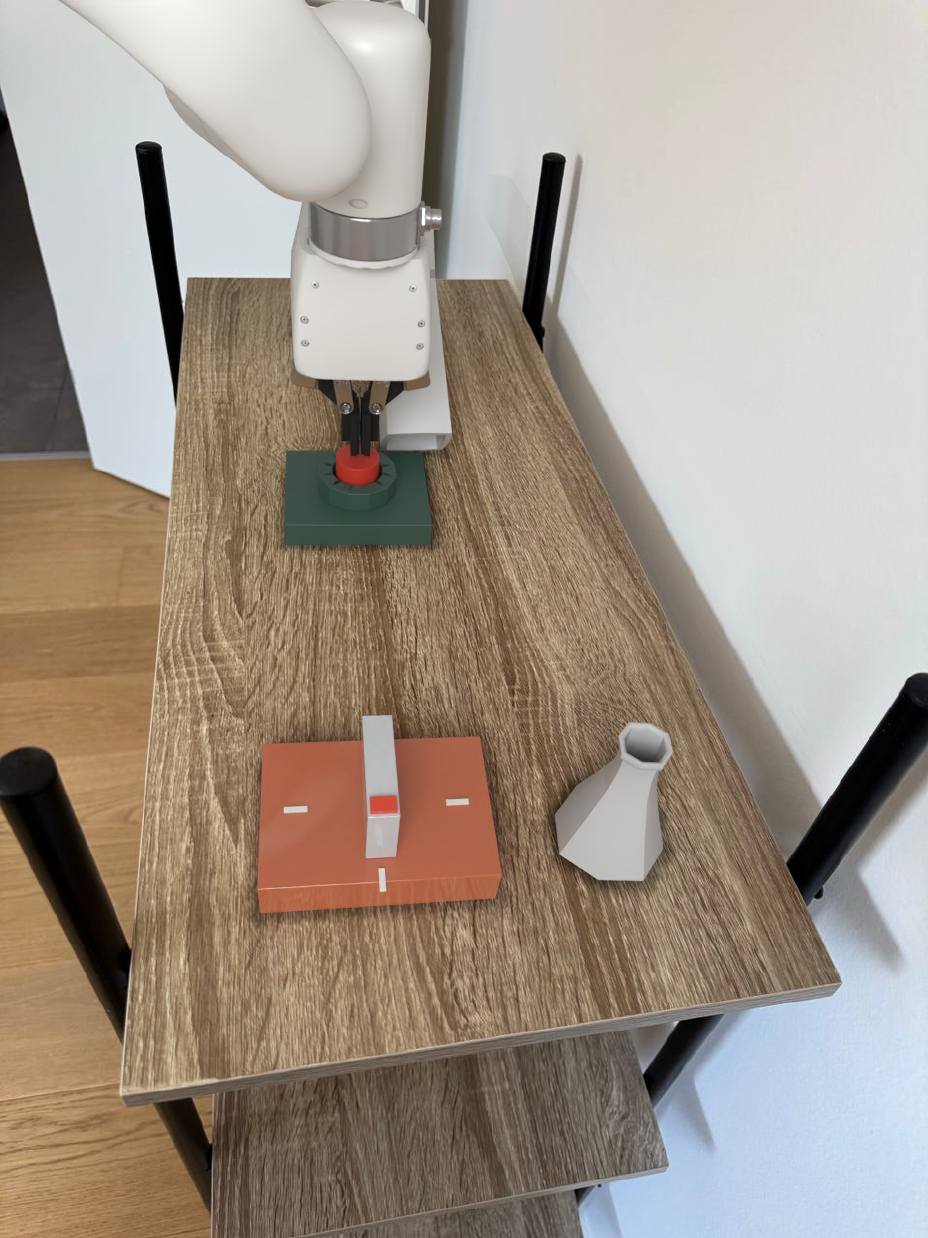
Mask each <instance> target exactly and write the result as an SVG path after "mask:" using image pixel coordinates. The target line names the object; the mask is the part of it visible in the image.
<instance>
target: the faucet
mask: <svg viewBox="0 0 928 1238" xmlns="http://www.w3.org/2000/svg"><path fill="white" fill-rule="evenodd" d="M424 237H425V238H426V240H427V244H428V250H429V258H430V282H431V347H430V361H429V367H428V369H429V374H430V380H431V383H430V385H429V386H428V387H426V388H421V389H416V390H411V391H407V390H405V391H403V392H402V393H401V394H399V395H398V396H397V397H396V398H394V399H393V400H392V401H391V402H389V403H388V404H387V405H386V406H385V408H384V411H383V412H382V413H381V414H380V418H379V448H380V452H430V451H442V450H443V449H445V448H446V447H447V446H448V445H449V443H450V442H451V440H452V437H453V430H452V420H451V410H450V402H449V392H448V382H447V374H446V364H445V355H444V345H443V336H442V327H441V318H440V310H439V309H440V308H439V299H438V290H437V280H436V261H435V260H436V259H435V257H436V256H435V230H430V232H425V231H424Z"/></svg>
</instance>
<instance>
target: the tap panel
mask: <svg viewBox="0 0 928 1238" xmlns="http://www.w3.org/2000/svg"><path fill="white" fill-rule="evenodd" d="M394 744H395V756H396V768H397V780H398V792H399V804H400V825H399V835H398V845H397V854H396V857H382V858H365V839H364V819H363V800H362V780H361V760H360V758H361V739H360V740H359V739H357V740H335V741H334V740H331V741H301V742H277V743H263V744H262V750H261V752H262V755H261V777H260V778H261V780H260V781H261V783H260V804H259V805H260V807H259V811H260V812H259V831H258V832H259V833H258V837H259V838H258V857H257V858H258V859H257V860H258V863H257V883H256V884H257V885H256V890H257V891H256V892H257V899H258V906H259V913H260V914H271V913H287V912H289V913H290V912H303V911H304V912H305V911H319V910H320V911H321V910H334V909H351V908H366V907H381V906H397V905H413V904H414V905H415V904H428V903H445V902H447V903H448V902H459V901H460V902H462V901H475V900H477V901H478V900H490V899H491V900H492V899H496V898H497V894H498V891H499V887H500V883H501V879H502V876H503V872H502V866H501V859H500V853H499V847H498V840H497V834H496V828H495V821H494V814H493V809H492V804H491V803H492V801H491V796H490V790H489V783H488V779H487V778H488V777H487V773H486V765H485V760H484V753H483V747H482V741H481V736H479V735H475V736H473V735H472V736H449V737H448V736H447V737H446V736H445V737H421V738H420V737H419V738H418V737H417V738H394Z"/></svg>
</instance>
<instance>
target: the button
mask: <svg viewBox="0 0 928 1238" xmlns="http://www.w3.org/2000/svg"><path fill="white" fill-rule="evenodd" d="M338 449H339V450H338V452H337V453H336V476H337V478H338V479H339V480H340V481H341V482H344V483H347V484H349V485H368V484H371V483H373V482H375V481H376V480H377V478H378V476H379V454H378V453H377V451H378V450H376V449H375V448H373V447H371V446H370V456H364V454H361V444H360V447H359V454H357V456H351V455H350V444H346V445H344V446H342V447H340V448H338Z"/></svg>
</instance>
